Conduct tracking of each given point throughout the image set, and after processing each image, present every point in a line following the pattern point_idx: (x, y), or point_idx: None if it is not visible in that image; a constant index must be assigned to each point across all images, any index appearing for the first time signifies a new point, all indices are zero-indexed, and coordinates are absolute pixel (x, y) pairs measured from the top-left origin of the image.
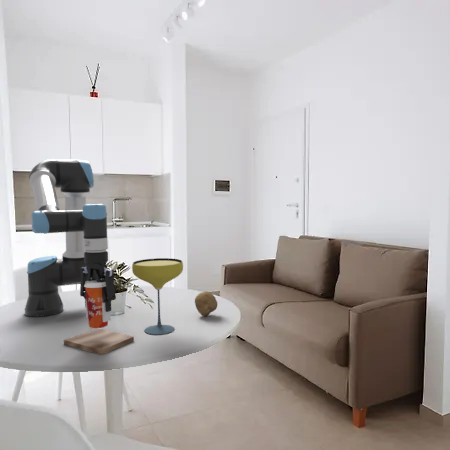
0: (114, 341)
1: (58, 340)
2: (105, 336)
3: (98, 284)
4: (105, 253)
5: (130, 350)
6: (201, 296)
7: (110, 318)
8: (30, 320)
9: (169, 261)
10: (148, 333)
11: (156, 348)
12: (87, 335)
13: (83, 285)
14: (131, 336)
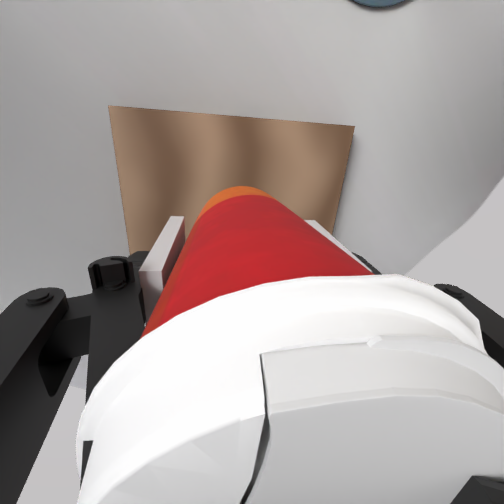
0: (314, 208)
1: (79, 259)
2: (243, 182)
3: None
4: None
5: (380, 209)
6: None
7: (318, 224)
8: None
9: None
10: (366, 5)
11: (456, 153)
12: (167, 209)
13: (26, 472)
14: (345, 130)
